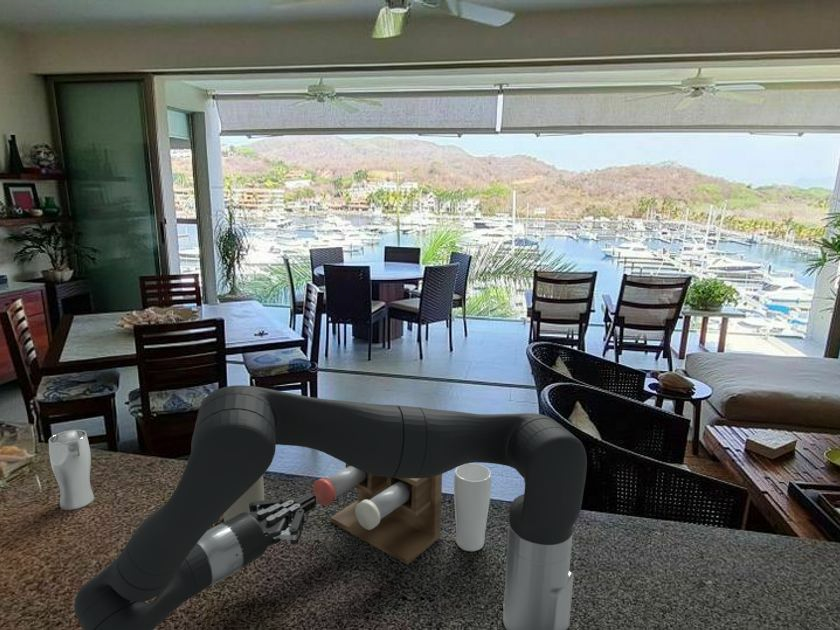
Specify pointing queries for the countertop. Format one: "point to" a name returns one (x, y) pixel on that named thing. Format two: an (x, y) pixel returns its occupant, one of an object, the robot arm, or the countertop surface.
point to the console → (399, 517)
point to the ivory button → (381, 505)
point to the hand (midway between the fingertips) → (313, 498)
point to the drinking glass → (471, 505)
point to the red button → (337, 484)
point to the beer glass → (72, 468)
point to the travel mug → (246, 500)
